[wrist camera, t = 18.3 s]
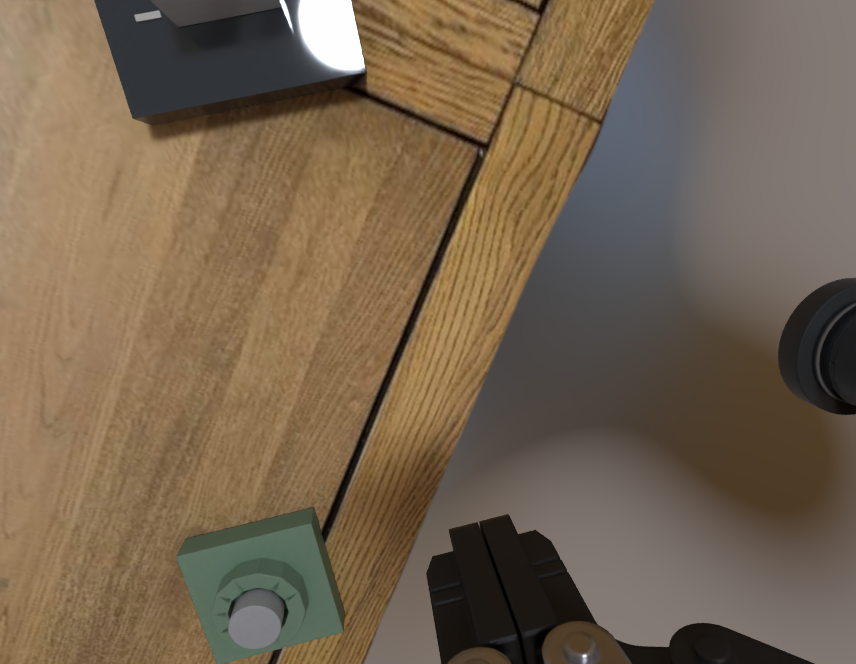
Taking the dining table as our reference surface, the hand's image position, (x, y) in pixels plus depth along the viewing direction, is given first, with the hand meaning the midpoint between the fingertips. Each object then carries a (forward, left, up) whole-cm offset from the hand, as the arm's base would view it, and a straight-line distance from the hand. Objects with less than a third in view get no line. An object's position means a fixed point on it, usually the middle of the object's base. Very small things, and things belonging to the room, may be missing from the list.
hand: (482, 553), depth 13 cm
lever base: (+6, -21, -27) cm, 35 cm away
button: (+15, +18, -23) cm, 33 cm away
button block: (+15, +18, -27) cm, 36 cm away
